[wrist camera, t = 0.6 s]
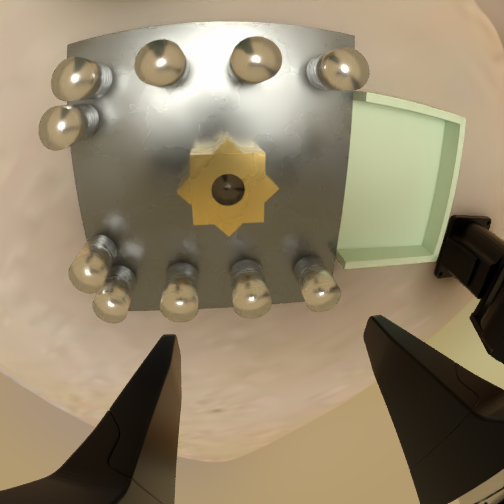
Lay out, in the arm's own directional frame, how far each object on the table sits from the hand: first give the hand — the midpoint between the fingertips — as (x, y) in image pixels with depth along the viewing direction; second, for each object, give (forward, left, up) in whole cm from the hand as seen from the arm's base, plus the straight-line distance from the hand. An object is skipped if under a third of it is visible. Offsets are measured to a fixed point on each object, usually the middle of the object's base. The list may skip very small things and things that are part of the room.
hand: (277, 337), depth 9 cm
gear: (+1, -2, -11) cm, 12 cm away
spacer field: (+2, -2, -12) cm, 12 cm away
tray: (-11, -2, -12) cm, 17 cm away
